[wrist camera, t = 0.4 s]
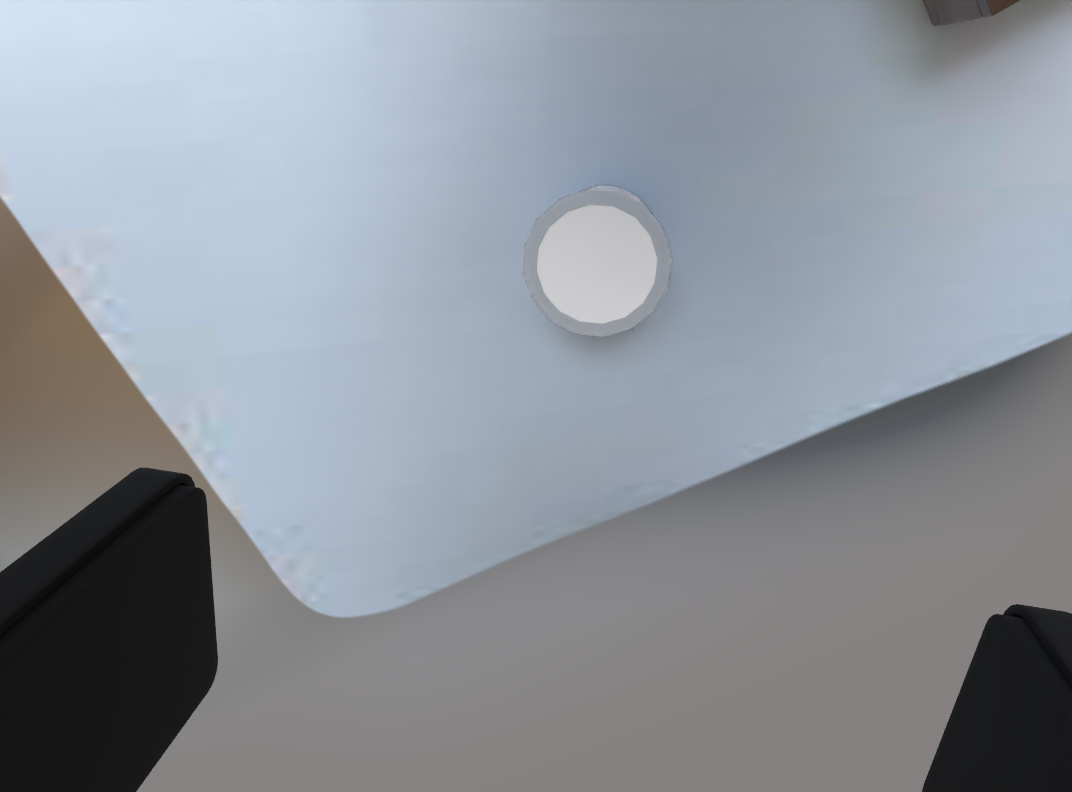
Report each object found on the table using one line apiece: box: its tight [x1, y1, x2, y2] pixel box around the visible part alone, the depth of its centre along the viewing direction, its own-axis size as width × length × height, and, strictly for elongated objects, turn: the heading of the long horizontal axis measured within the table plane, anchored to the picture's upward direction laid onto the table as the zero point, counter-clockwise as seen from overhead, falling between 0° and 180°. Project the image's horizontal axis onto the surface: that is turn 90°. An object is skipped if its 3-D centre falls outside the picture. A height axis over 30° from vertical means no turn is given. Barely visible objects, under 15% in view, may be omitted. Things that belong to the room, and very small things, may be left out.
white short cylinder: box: [523, 185, 672, 337], centre depth 40 cm, size 7×7×7 cm
